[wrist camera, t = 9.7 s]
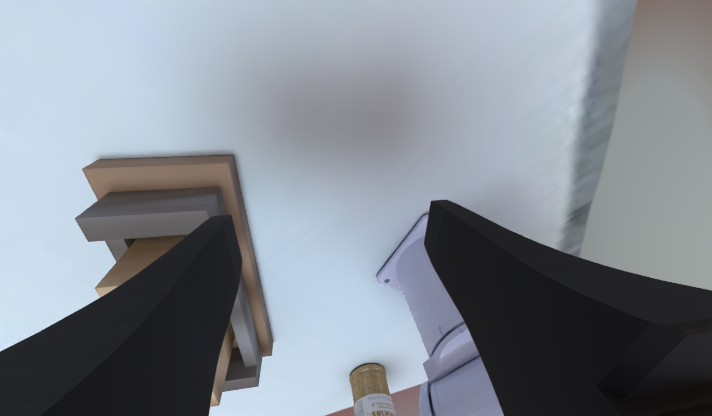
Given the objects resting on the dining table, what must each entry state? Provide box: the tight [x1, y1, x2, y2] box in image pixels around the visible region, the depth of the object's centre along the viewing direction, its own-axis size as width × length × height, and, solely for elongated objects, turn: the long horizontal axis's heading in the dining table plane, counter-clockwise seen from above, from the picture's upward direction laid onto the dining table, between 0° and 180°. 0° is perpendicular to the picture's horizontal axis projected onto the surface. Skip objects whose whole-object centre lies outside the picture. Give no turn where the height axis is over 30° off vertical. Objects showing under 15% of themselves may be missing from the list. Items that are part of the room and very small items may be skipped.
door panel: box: [95, 234, 235, 407], centre depth 19 cm, size 13×3×6 cm, turn 179°
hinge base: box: [75, 155, 273, 392], centre depth 21 cm, size 20×8×4 cm, turn 179°
